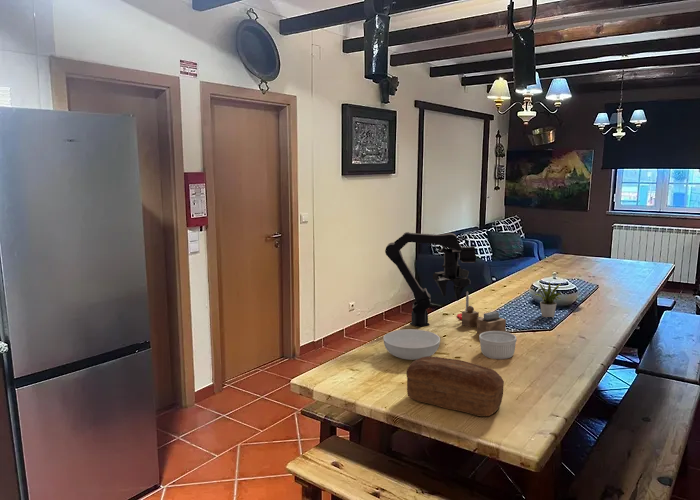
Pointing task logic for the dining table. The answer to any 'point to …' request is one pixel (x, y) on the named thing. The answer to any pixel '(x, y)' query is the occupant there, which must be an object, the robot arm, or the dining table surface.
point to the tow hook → (466, 306)
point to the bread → (455, 385)
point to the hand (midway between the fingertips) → (450, 298)
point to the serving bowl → (411, 343)
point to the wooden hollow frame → (481, 322)
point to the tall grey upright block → (491, 316)
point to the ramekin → (497, 344)
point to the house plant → (548, 301)
